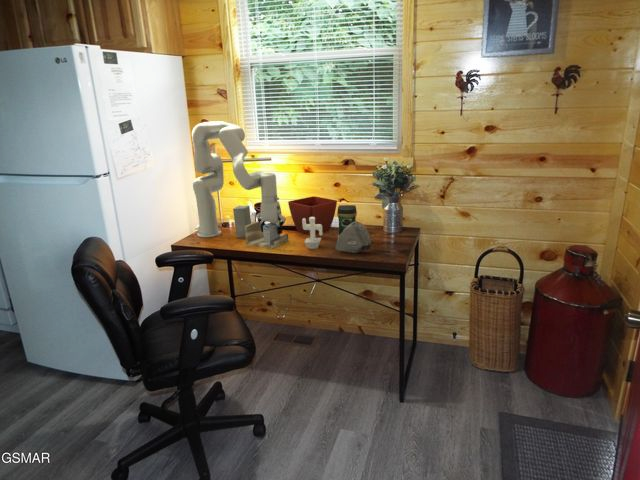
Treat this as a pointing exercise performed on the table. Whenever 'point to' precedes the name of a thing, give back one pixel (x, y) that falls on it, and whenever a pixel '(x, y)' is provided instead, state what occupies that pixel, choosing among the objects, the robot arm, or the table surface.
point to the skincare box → (241, 219)
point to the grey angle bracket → (261, 237)
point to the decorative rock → (354, 238)
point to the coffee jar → (346, 216)
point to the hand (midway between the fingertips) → (271, 232)
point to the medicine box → (270, 232)
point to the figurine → (312, 233)
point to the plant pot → (313, 212)
